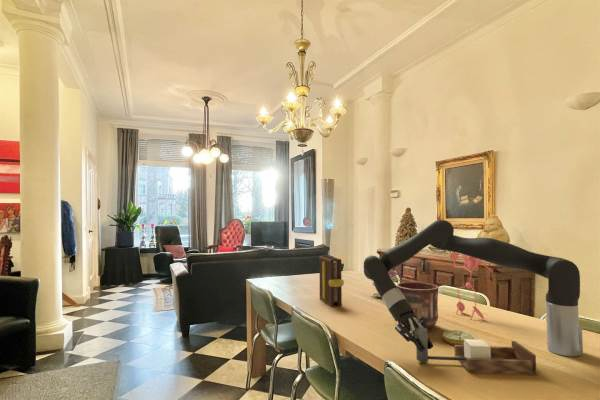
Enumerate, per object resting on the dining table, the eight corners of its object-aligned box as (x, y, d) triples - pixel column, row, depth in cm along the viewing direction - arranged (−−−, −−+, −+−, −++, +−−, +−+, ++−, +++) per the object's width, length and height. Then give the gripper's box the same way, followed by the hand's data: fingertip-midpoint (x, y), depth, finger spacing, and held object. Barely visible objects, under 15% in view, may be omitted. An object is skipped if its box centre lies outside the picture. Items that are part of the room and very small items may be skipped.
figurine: (484, 325, 152) (483, 246, 154) (442, 310, 176) (442, 242, 178) (510, 322, 157) (508, 245, 159) (466, 308, 181) (465, 241, 183)
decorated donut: (455, 336, 139) (455, 327, 139) (480, 345, 130) (479, 335, 130) (437, 340, 134) (437, 330, 135) (461, 350, 125) (461, 339, 125)
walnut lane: (515, 358, 117) (515, 341, 117) (536, 375, 105) (535, 355, 105) (454, 356, 119) (454, 339, 119) (468, 372, 107) (467, 352, 107)
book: (316, 298, 202) (316, 256, 203) (330, 297, 205) (329, 255, 206) (331, 308, 181) (330, 260, 182) (345, 306, 184) (345, 259, 185)
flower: (414, 296, 200) (402, 255, 212) (385, 296, 189) (374, 254, 201) (390, 304, 215) (380, 266, 227) (363, 305, 204) (354, 265, 216)
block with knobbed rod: (483, 358, 115) (482, 328, 115) (491, 366, 109) (490, 334, 109) (414, 355, 117) (414, 326, 118) (418, 363, 111) (418, 331, 112)
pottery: (443, 334, 140) (442, 290, 141) (398, 331, 144) (398, 288, 145) (435, 321, 158) (434, 282, 159) (395, 319, 161) (395, 281, 162)
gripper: (404, 307, 129) (433, 350, 119) (378, 313, 121) (406, 360, 111) (415, 295, 125) (447, 339, 114) (389, 301, 117) (420, 348, 106)
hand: (427, 349), depth 113 cm, fingers closed on block with knobbed rod, 3 cm apart
